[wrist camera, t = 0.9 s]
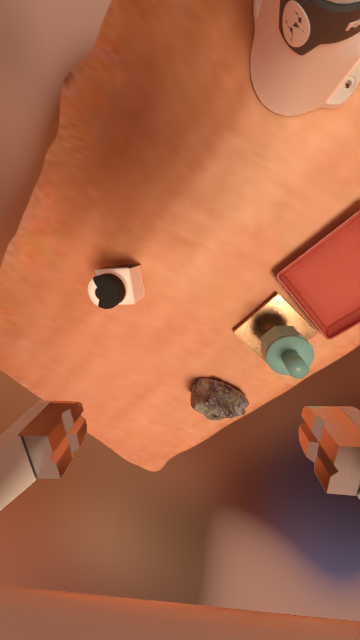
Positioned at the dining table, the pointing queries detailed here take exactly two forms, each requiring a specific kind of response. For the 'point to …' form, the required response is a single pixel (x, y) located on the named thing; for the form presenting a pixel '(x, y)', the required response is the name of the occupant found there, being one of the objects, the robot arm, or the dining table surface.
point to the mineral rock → (217, 399)
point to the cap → (287, 351)
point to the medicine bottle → (116, 286)
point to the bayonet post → (271, 322)
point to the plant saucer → (329, 280)
